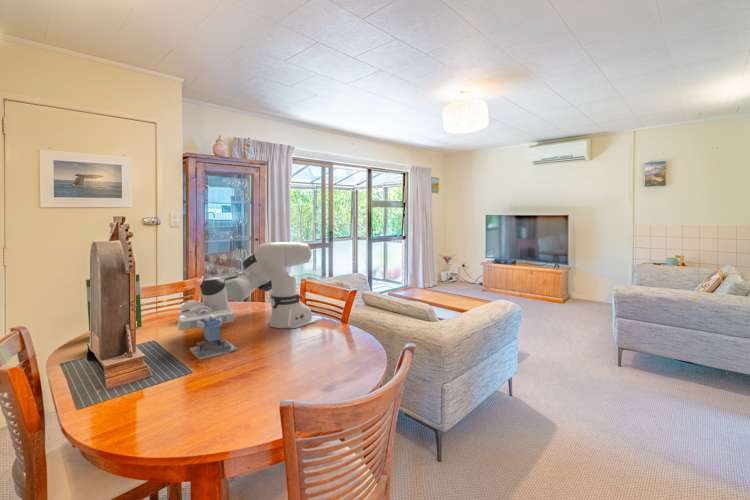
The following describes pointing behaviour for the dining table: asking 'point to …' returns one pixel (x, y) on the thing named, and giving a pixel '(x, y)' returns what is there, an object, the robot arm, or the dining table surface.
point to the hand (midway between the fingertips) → (212, 324)
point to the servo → (212, 328)
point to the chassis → (212, 348)
